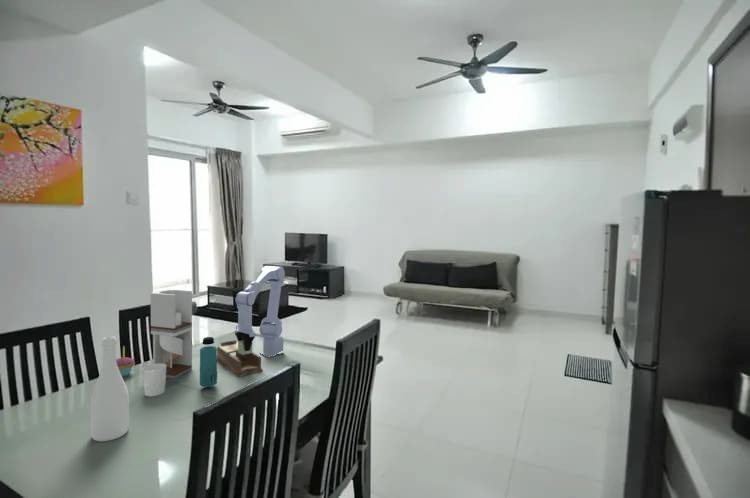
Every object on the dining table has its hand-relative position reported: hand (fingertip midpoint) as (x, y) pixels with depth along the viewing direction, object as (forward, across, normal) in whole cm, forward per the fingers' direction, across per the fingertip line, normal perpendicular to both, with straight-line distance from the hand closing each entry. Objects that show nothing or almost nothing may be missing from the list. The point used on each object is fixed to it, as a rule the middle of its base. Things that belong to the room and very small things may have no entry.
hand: (244, 349), depth 173 cm
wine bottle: (+10, +24, -54) cm, 60 cm away
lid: (+3, -12, 0) cm, 12 cm away
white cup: (+10, 0, -36) cm, 37 cm away
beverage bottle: (+10, +8, -19) cm, 23 cm away
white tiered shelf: (+10, -16, -25) cm, 31 cm away
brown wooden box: (+9, -6, 0) cm, 11 cm away
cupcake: (+10, -26, -41) cm, 50 cm away
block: (+2, 0, 0) cm, 2 cm away
